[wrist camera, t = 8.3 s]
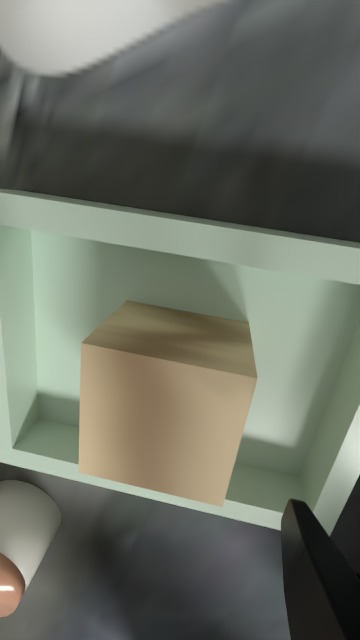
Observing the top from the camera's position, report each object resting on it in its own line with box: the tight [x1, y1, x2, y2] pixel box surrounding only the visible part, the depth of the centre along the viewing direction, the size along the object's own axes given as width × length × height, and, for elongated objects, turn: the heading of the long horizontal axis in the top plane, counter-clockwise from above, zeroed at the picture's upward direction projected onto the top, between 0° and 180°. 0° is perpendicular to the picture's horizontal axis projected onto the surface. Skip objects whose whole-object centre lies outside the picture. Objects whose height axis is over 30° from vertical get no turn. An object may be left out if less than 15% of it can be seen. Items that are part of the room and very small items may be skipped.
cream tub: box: [0, 480, 61, 617], centre depth 21 cm, size 6×6×5 cm
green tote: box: [0, 189, 360, 537], centre depth 15 cm, size 18×14×4 cm
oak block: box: [78, 300, 258, 507], centre depth 14 cm, size 6×6×5 cm
